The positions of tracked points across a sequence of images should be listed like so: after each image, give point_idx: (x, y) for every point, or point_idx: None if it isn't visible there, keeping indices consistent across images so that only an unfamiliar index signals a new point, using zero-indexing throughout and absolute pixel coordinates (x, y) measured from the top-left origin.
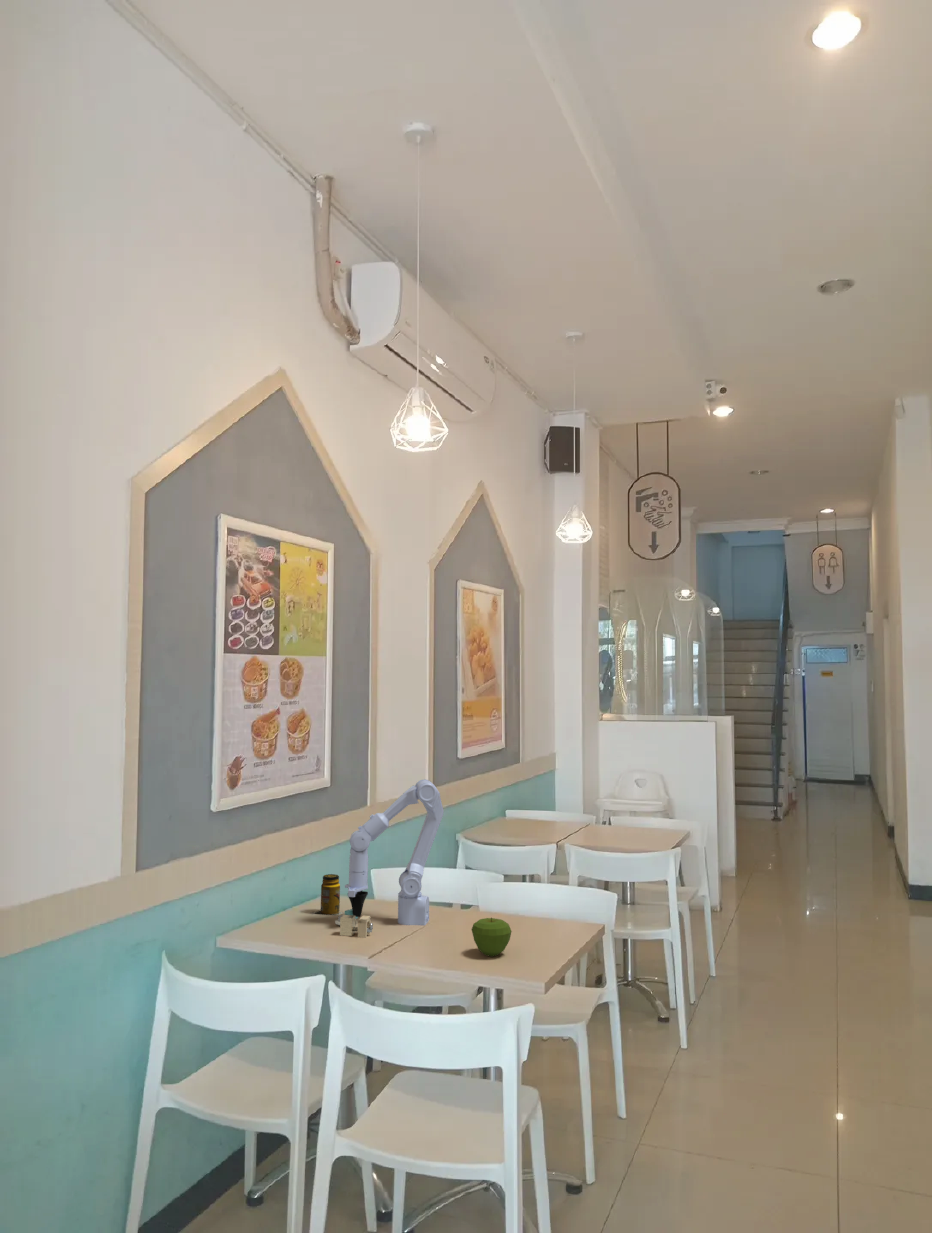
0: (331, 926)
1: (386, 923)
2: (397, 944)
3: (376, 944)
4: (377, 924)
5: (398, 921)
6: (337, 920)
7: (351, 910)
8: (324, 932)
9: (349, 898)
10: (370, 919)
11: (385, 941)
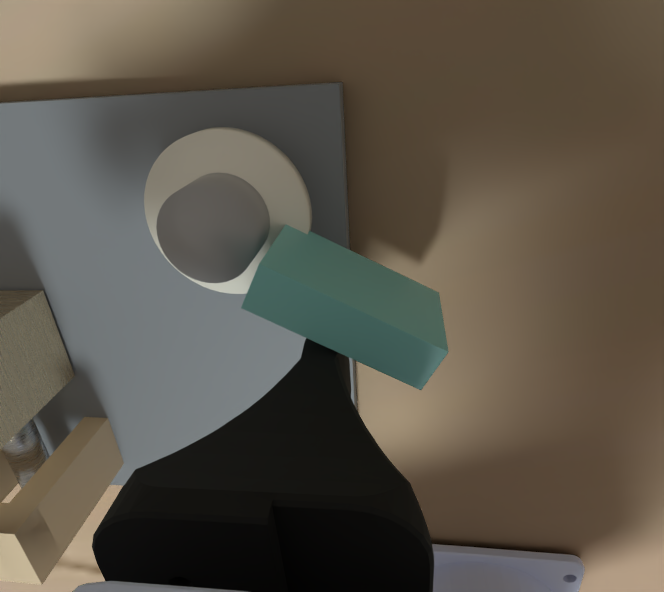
0: (279, 51)
1: (492, 485)
2: (66, 578)
3: (6, 501)
4: (450, 436)
5: (435, 583)
6: (217, 158)
7: (310, 339)
8: (46, 71)
9: (172, 458)
10: (57, 554)
11: (81, 530)
